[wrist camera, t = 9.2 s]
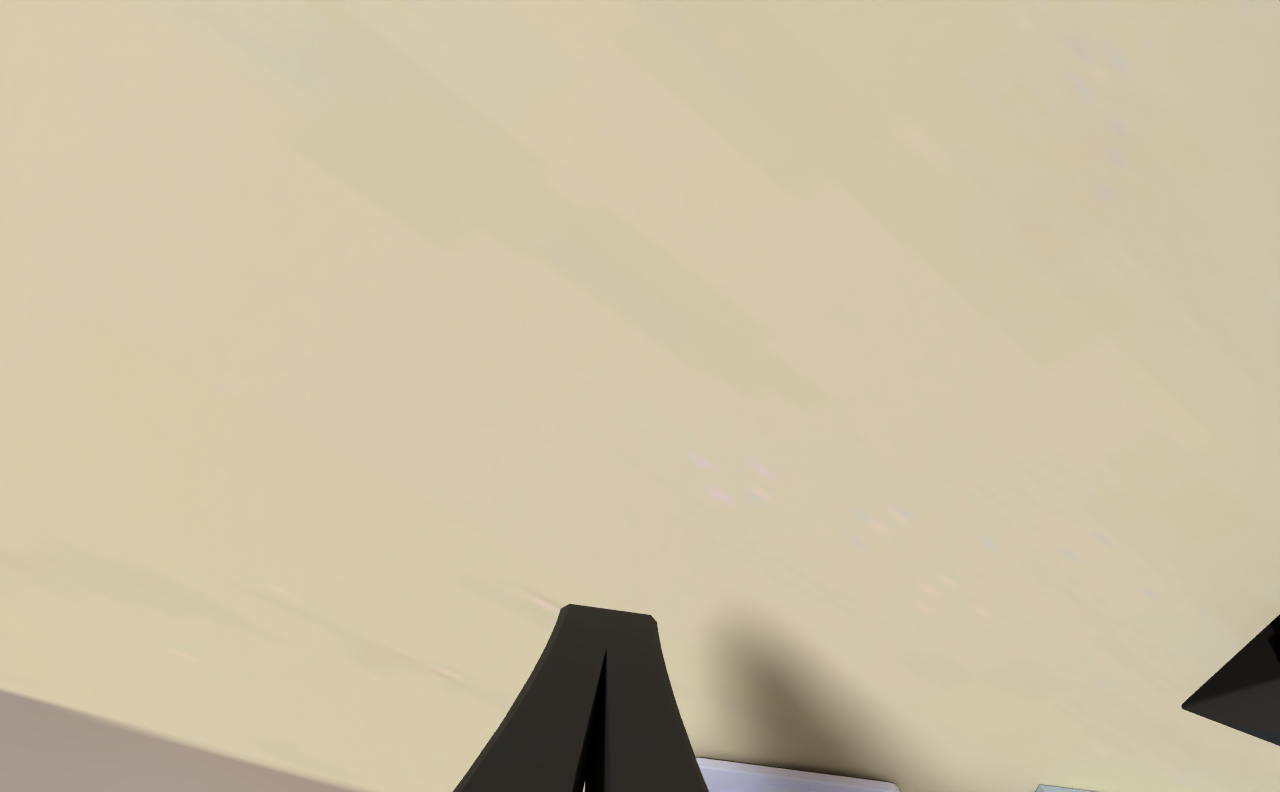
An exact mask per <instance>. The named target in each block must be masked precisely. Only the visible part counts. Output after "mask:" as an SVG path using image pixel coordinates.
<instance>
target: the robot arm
mask: <svg viewBox="0 0 1280 792" xmlns="http://www.w3.org/2000/svg"><path fill="white" fill-rule="evenodd" d="M584 783H585V792H900V791H899V789H898V787H897V786H896V785H895V784H893V783H889V782H882V781H874V780H867V779H859V778H851V777H844V776H836V775H828V774H821V773H813V772H805V771H797V770H790V769H782V768H774V767H767V766H759V765H751V764H744V763H736V762H728V761H721V760H713V759H705V758H695V755H694V752H693V749H692V747H691V744H690V741H689V738H688V735H687V733H686V730H685V727H684V724H683V721H682V719H681V716H680V713H679V710H678V707H677V704H676V700H675V697H674V694H673V691H672V687H671V684H670V680H669V677H668V673H667V670H666V666H665V662H664V658H663V654H662V649H661V644H660V639H659V634H658V627H657V622H656V621H655V619H654V618H653V617H652V616H651V615H646V614H639V613H632V612H625V611H617V610H610V609H603V608H595V607H588V606H581V605H574V604H568V605H567V606H565V607H563V608H562V609H561V610H560V613H559V616H558V620H557V622H556V625H555V627H554V629H553V632H552V634H551V636H550V639H549V641H548V643H547V645H546V647H545V649H544V651H543V653H542V655H541V657H540V659H539V660H538V662H537V664H536V666H535V668H534V670H533V672H532V673H531V675H530V677H529V679H528V680H527V682H526V684H525V685H524V687H523V689H522V690H521V692H520V694H519V695H518V697H517V698H516V700H515V702H514V703H513V705H512V707H511V708H510V710H509V712H508V713H507V715H506V717H505V718H504V720H503V721H502V723H501V724H500V726H499V727H498V729H497V730H496V732H495V733H494V735H493V736H492V737H491V739H490V740H489V742H488V743H487V745H486V746H485V747H484V749H483V750H482V752H481V753H480V755H479V756H478V758H477V759H476V760H475V762H474V763H473V765H472V766H471V768H470V769H469V771H468V772H467V773H466V775H465V776H464V777H463V779H462V780H461V781H460V783H459V784H458V785H457V787H456V788H455V789H454V791H453V792H583V787H584Z"/></svg>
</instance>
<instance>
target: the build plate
mask: <svg viewBox="0 0 1280 792" xmlns="http://www.w3.org/2000/svg"><path fill="white" fill-rule="evenodd" d="M1182 709H1184V710H1187V711H1189V712H1192V713H1195V714H1197V715H1200V716H1202V717H1205V718H1208V719H1210V720H1213V721H1216V722H1218V723H1221V724H1224V725H1226V726H1229V727H1231V728H1234V729H1237V730H1239V731H1242V732H1245V733H1247V734H1250V735H1252V736H1255V737H1258V738H1260V739H1263V740H1266V741H1268V742H1271V743H1274V744H1276V745H1279V746H1280V615H1279V616H1278V617H1276V618H1275V619H1274V620H1273V621H1272V622H1271V623H1270V624H1269V625H1268V626H1267V627H1266V628H1264V629H1263V630H1262V631H1261V632H1260V633H1259V634H1258V635H1257V636H1256V637H1255V638H1254V639H1252V640H1251V641H1250V642H1249V643H1248V644H1247V645H1246V646H1245V647H1244V648H1243V649H1242V650H1241V651H1239V652H1238V653H1237V654H1236V655H1235V656H1234V657H1233V658H1232V659H1231V660H1230V661H1229V662H1227V663H1226V664H1225V665H1224V666H1223V667H1222V668H1221V669H1220V670H1219V671H1218V672H1217V673H1215V674H1214V675H1213V676H1212V677H1211V678H1210V679H1209V680H1208V681H1207V682H1206V683H1205V684H1204V685H1202V686H1201V687H1200V688H1199V689H1198V690H1197V691H1196V692H1195V693H1194V694H1193V695H1192V696H1190V697H1189V698H1188V699H1187V700H1186V701H1185V702H1184V703H1183V704H1182Z"/></svg>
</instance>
